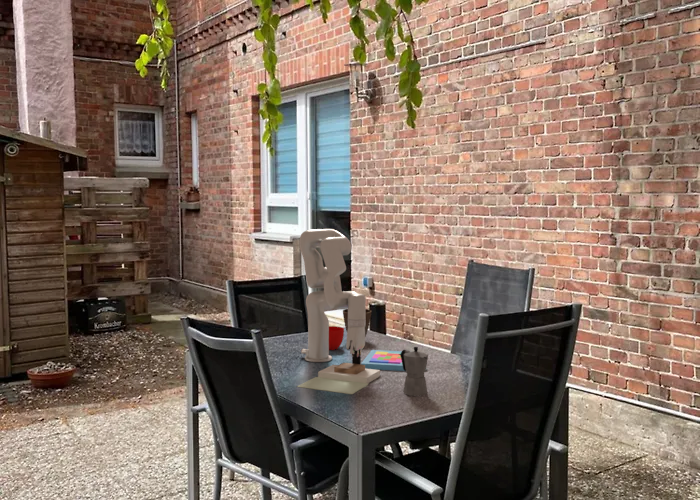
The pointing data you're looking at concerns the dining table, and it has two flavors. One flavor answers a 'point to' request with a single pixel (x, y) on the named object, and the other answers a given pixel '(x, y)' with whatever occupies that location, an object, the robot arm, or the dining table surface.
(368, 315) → the plant pot
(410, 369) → the coffeepot
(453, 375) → the dining table surface
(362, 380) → the board
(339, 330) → the ceramic cup
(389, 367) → the tetris game
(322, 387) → the mat
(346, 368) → the tile
